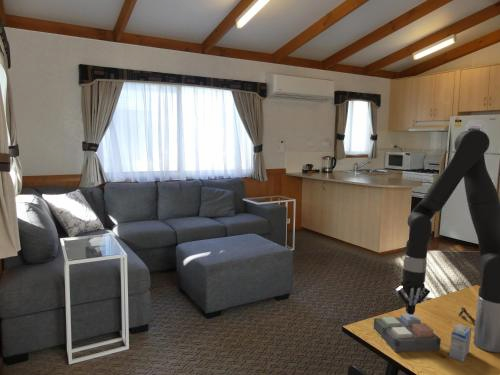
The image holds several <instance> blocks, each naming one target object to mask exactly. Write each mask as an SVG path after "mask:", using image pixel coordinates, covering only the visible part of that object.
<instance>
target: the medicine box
mask: <svg viewBox="0 0 500 375" xmlns="http://www.w3.org/2000/svg"><path fill="white" fill-rule="evenodd" d="M450 336H451V338H450V346H449V355H448V356H449V358H453V359H454V360H455V359H456V360H459V361H461V362H464V361H465V359H466V357H467V355H468V353H469V352H470V344H471V337H472V327H469V326H467V325H462V324H460V323H456V326H455V327H454V329H453V330H452V332H451V335H450Z"/></svg>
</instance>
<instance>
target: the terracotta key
mask: <svg viewBox="0 0 500 375" xmlns="http://www.w3.org/2000/svg"><path fill="white" fill-rule="evenodd" d="M412 331H413V332H414V333H415V334H416V335H417V336H418V337H419V338H420V337H433V333H434V330H433V329H432V328H431V327H430V326H429V325H428V324H426V323H422V324H412Z"/></svg>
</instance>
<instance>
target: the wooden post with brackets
mask: <svg viewBox="0 0 500 375" xmlns="http://www.w3.org/2000/svg"><path fill="white" fill-rule="evenodd" d="M460 310H461V311H460V312H459V313H458V317H461V318H462V320H465V321H467V318H468V319H470V321H471V322H472V323H473V324H472V325H473V326H475V321H476V318H474V317H473V316H472V315H471V314H470V313H469V312H468V311H467V309H466V307H463V306H460ZM463 314H465V315H466V316H465V315H463Z"/></svg>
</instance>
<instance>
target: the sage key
mask: <svg viewBox="0 0 500 375" xmlns="http://www.w3.org/2000/svg"><path fill="white" fill-rule="evenodd" d="M396 318H397V317H395V316H383V317H381V322H382V323H383V324H384V325H385V326H386V327H387V328H388V327H400V322H399V321H398V320H397V319H396Z"/></svg>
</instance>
